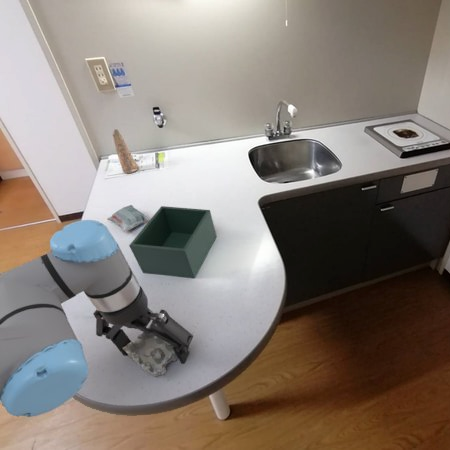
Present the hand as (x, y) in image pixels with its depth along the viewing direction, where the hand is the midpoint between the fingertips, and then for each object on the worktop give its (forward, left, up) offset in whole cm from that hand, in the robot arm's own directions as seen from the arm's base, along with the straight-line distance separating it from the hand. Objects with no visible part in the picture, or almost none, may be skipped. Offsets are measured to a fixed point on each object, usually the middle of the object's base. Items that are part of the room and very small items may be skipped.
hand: (156, 353), depth 69 cm
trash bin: (-8, +31, 0) cm, 32 cm away
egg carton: (0, 0, 0) cm, 0 cm away
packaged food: (-32, +42, 0) cm, 53 cm away
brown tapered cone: (-52, +76, 0) cm, 92 cm away
